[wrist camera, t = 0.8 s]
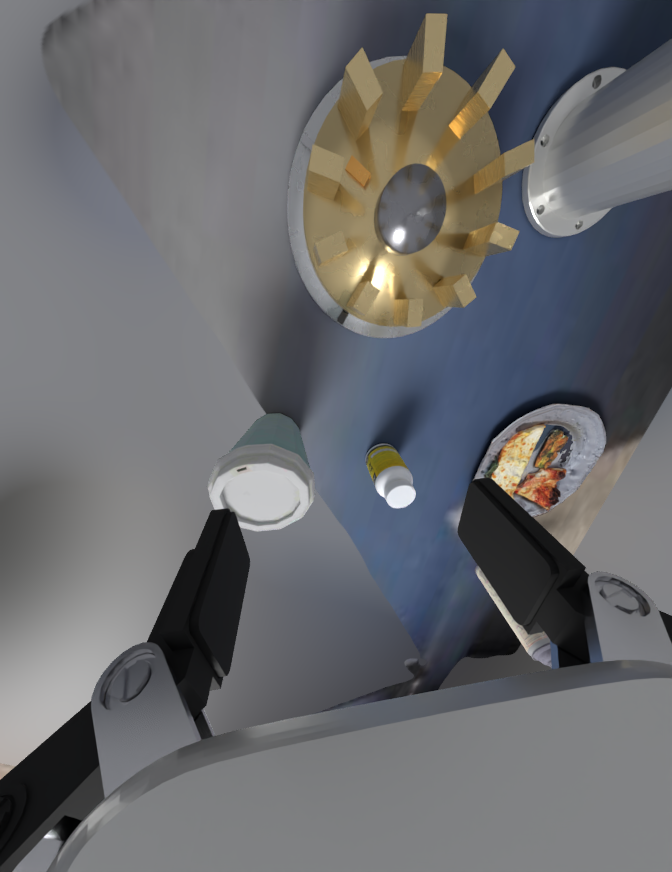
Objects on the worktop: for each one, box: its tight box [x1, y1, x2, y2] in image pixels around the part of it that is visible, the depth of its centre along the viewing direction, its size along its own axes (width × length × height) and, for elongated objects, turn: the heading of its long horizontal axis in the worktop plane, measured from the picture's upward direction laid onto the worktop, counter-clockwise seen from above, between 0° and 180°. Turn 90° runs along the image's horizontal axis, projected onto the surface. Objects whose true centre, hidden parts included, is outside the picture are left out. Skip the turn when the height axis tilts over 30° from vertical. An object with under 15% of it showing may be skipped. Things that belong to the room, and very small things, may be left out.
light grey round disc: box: [287, 56, 482, 338], centre depth 27 cm, size 22×22×2 cm
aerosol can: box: [475, 565, 552, 667], centre depth 52 cm, size 7×7×20 cm
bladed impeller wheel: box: [303, 13, 534, 327], centre depth 23 cm, size 19×19×6 cm
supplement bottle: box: [365, 444, 416, 508], centre depth 38 cm, size 5×5×10 cm
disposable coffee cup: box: [208, 413, 315, 531], centre depth 31 cm, size 11×11×15 cm
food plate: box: [473, 404, 606, 517], centre depth 46 cm, size 25×23×4 cm
